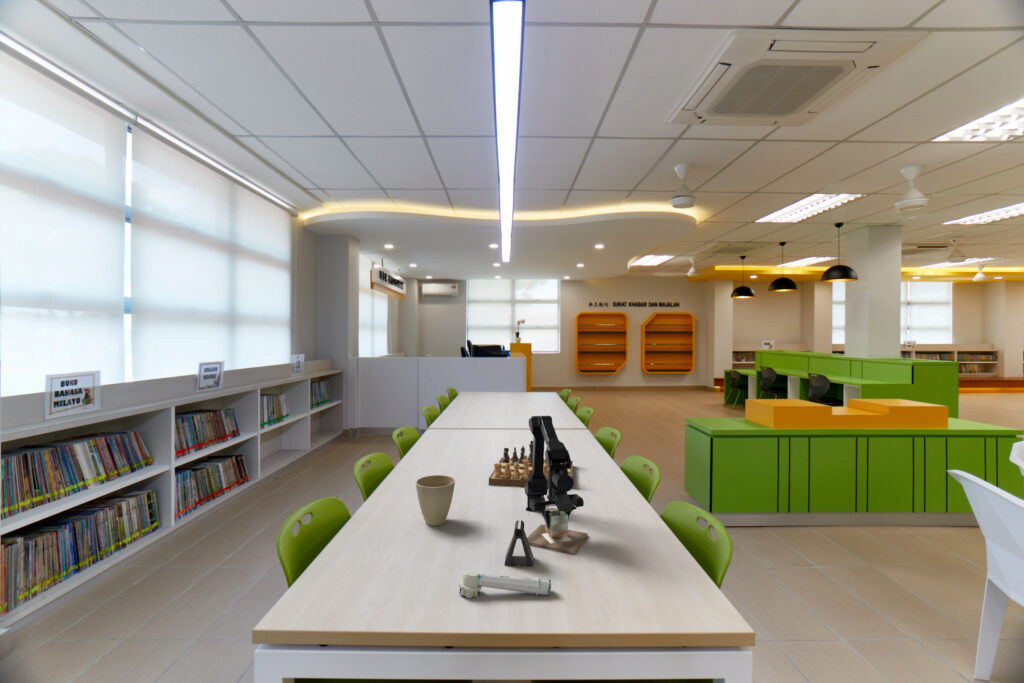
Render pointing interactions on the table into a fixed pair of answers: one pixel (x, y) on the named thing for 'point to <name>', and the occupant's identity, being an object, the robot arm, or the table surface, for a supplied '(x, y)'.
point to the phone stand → (528, 557)
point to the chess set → (517, 469)
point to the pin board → (557, 540)
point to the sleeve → (557, 523)
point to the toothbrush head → (502, 584)
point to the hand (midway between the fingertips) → (556, 527)
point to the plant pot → (435, 497)
